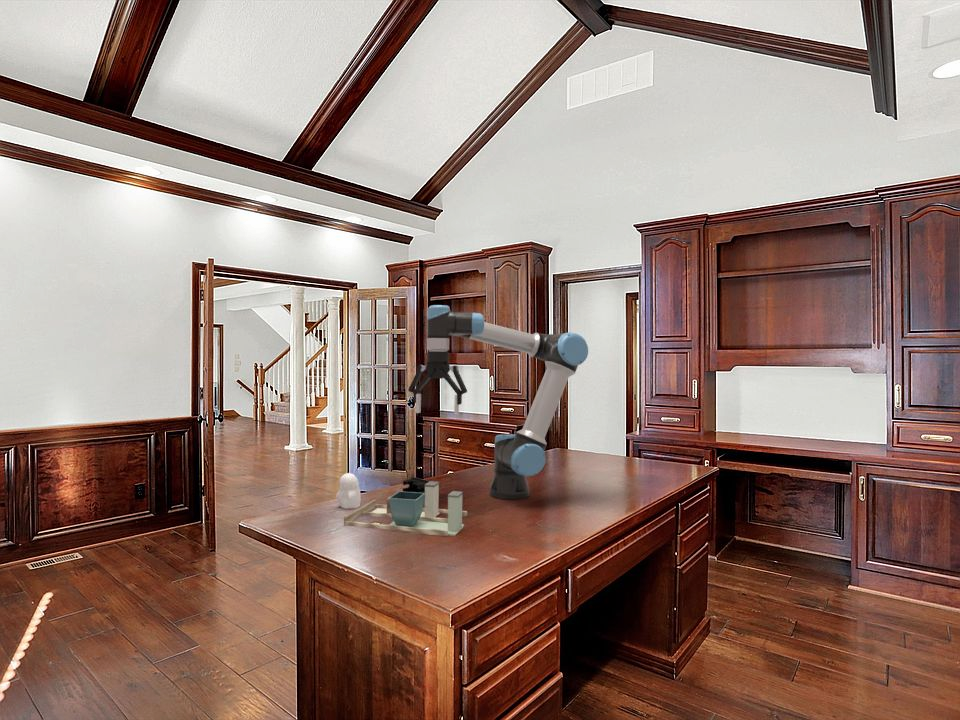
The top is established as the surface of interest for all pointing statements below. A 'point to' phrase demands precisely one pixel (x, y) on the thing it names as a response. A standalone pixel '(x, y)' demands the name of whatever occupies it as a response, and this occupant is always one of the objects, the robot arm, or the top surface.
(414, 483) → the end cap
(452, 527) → the sage strip
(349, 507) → the figurine
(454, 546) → the top surface
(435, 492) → the cream strip
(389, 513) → the walnut block
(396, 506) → the flower pot
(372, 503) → the lane frame
